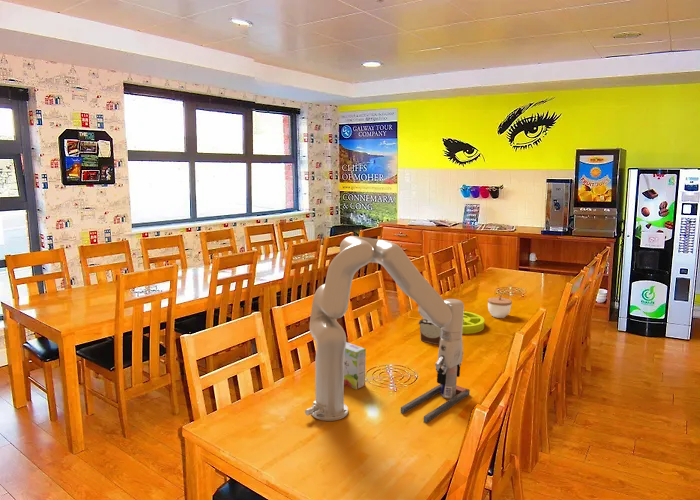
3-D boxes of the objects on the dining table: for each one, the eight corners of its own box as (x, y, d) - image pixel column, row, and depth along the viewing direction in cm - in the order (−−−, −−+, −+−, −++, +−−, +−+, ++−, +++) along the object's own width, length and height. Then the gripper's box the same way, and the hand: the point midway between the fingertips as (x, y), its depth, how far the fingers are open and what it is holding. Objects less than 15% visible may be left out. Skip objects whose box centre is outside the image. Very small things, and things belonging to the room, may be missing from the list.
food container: (447, 341, 243) (448, 321, 241) (442, 345, 238) (443, 324, 236) (423, 336, 249) (424, 316, 248) (418, 340, 244) (418, 319, 243)
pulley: (418, 324, 269) (418, 315, 268) (450, 314, 287) (451, 305, 286) (463, 338, 248) (463, 328, 248) (494, 326, 267) (495, 317, 266)
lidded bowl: (488, 318, 279) (489, 299, 277) (485, 312, 291) (487, 293, 289) (512, 320, 277) (513, 300, 275) (509, 313, 289) (510, 294, 287)
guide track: (426, 423, 167) (426, 417, 166) (400, 412, 173) (400, 407, 173) (469, 394, 187) (469, 389, 187) (444, 386, 194) (444, 381, 194)
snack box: (316, 374, 204) (316, 337, 202) (326, 370, 208) (327, 334, 206) (356, 390, 190) (356, 351, 187) (366, 385, 194) (367, 347, 192)
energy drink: (445, 391, 190) (446, 360, 188) (458, 395, 187) (460, 364, 185) (438, 396, 186) (439, 364, 184) (451, 400, 183) (452, 368, 181)
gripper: (447, 342, 174) (444, 390, 176) (472, 331, 186) (469, 375, 189) (428, 337, 178) (426, 383, 181) (454, 326, 191) (451, 370, 194)
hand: (448, 379), depth 185 cm, fingers open, 9 cm apart
